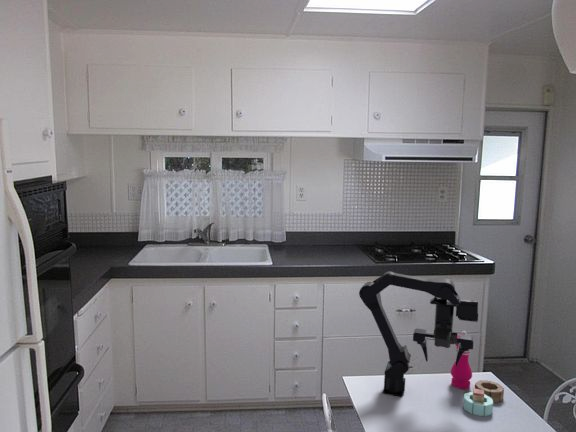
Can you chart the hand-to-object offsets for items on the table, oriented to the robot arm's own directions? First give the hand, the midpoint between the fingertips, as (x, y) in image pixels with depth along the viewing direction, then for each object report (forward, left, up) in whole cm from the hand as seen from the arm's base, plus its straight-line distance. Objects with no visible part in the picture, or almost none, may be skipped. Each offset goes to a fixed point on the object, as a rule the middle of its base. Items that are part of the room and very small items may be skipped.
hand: (441, 363), depth 157 cm
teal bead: (+12, -2, -12) cm, 17 cm away
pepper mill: (+7, +14, -13) cm, 20 cm away
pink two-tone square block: (+12, -2, -13) cm, 17 cm away
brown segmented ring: (+16, +9, -12) cm, 22 cm away
